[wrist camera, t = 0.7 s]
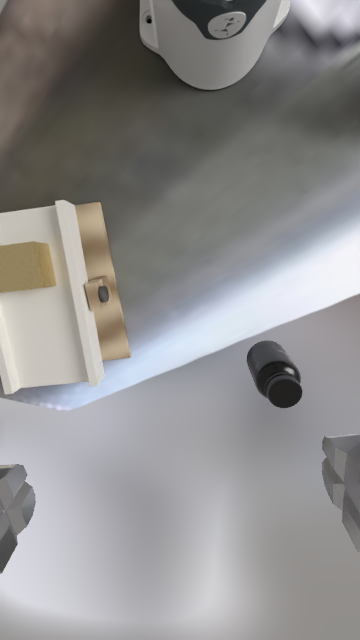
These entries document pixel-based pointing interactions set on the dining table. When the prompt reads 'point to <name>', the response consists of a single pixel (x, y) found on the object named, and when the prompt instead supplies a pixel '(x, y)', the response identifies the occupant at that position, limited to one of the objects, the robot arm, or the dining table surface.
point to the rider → (25, 267)
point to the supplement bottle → (275, 374)
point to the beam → (48, 307)
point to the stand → (102, 283)
